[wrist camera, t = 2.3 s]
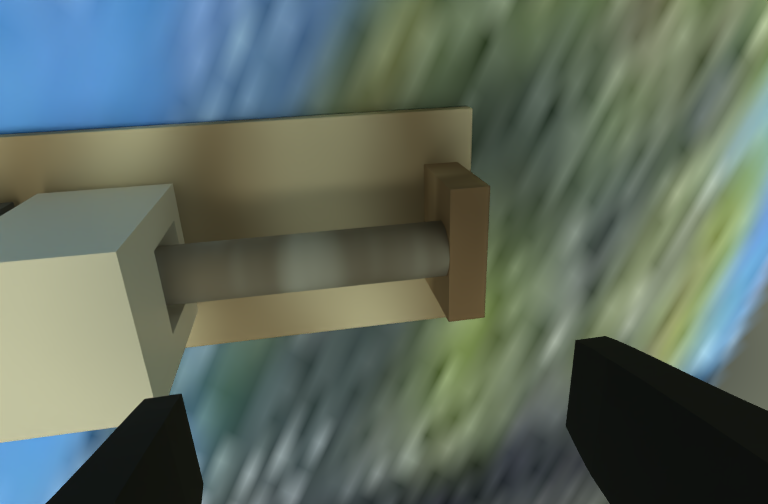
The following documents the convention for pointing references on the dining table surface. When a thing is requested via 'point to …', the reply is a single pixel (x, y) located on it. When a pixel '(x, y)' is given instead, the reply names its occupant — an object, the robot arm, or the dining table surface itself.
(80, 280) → the pale sage cube
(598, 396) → the robot arm
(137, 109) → the dining table surface
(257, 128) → the pipe stand
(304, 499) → the dining table surface
